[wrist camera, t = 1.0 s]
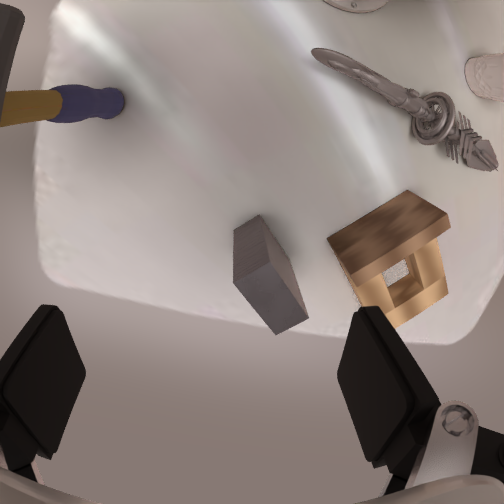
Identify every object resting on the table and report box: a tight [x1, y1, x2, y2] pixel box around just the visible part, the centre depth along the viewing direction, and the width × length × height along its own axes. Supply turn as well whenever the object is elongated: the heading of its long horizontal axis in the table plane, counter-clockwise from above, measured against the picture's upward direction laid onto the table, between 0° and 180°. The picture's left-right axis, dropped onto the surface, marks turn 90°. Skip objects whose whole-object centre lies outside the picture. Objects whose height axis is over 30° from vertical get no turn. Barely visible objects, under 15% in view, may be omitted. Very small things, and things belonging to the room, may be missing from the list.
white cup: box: [465, 53, 504, 102], centre depth 25 cm, size 8×8×10 cm
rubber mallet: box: [0, 3, 124, 127], centre depth 18 cm, size 12×8×30 cm, turn 158°
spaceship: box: [311, 48, 498, 172], centre depth 30 cm, size 8×35×8 cm
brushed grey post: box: [233, 214, 309, 335], centre depth 35 cm, size 4×8×13 cm, turn 32°
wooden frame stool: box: [327, 190, 451, 329], centre depth 38 cm, size 14×18×10 cm
